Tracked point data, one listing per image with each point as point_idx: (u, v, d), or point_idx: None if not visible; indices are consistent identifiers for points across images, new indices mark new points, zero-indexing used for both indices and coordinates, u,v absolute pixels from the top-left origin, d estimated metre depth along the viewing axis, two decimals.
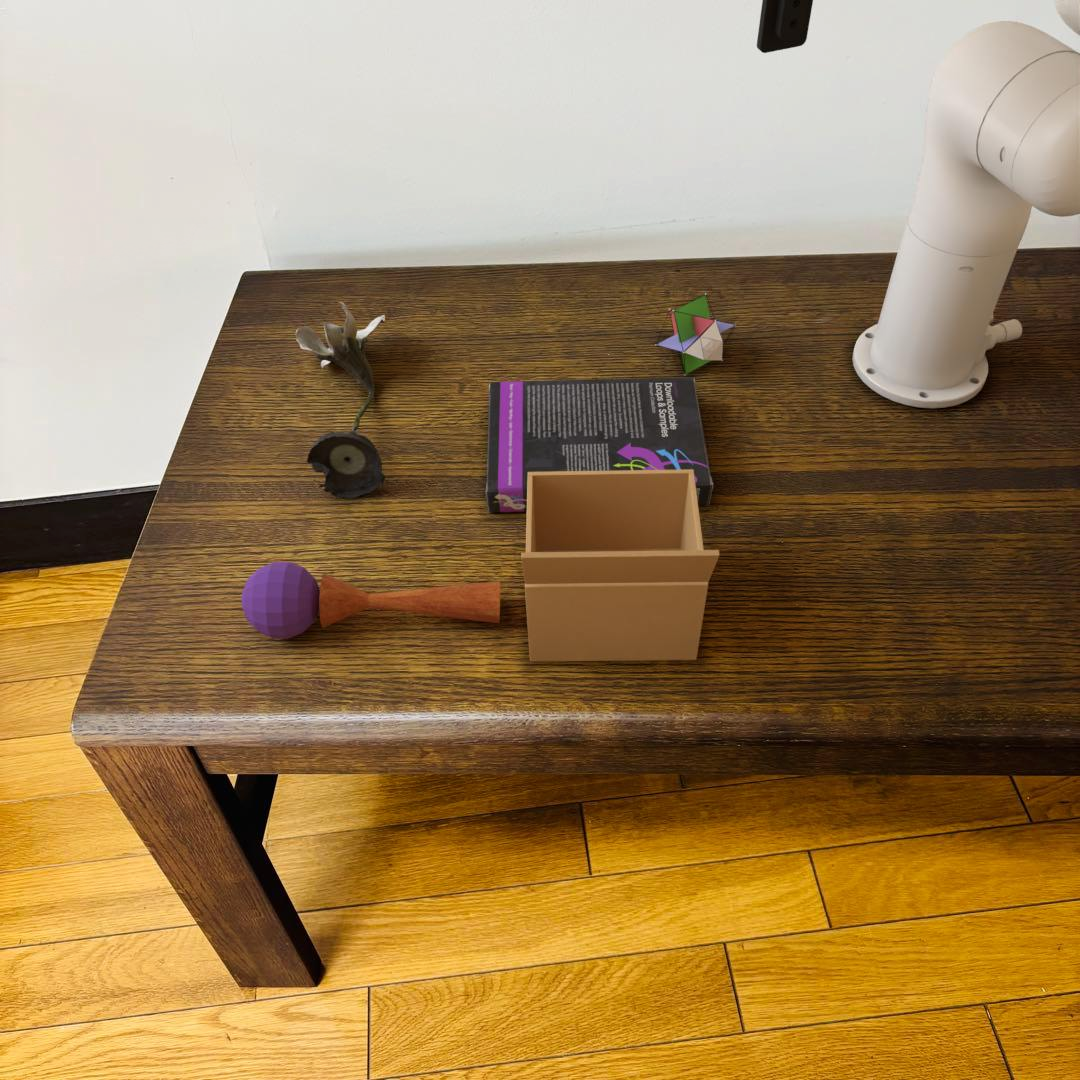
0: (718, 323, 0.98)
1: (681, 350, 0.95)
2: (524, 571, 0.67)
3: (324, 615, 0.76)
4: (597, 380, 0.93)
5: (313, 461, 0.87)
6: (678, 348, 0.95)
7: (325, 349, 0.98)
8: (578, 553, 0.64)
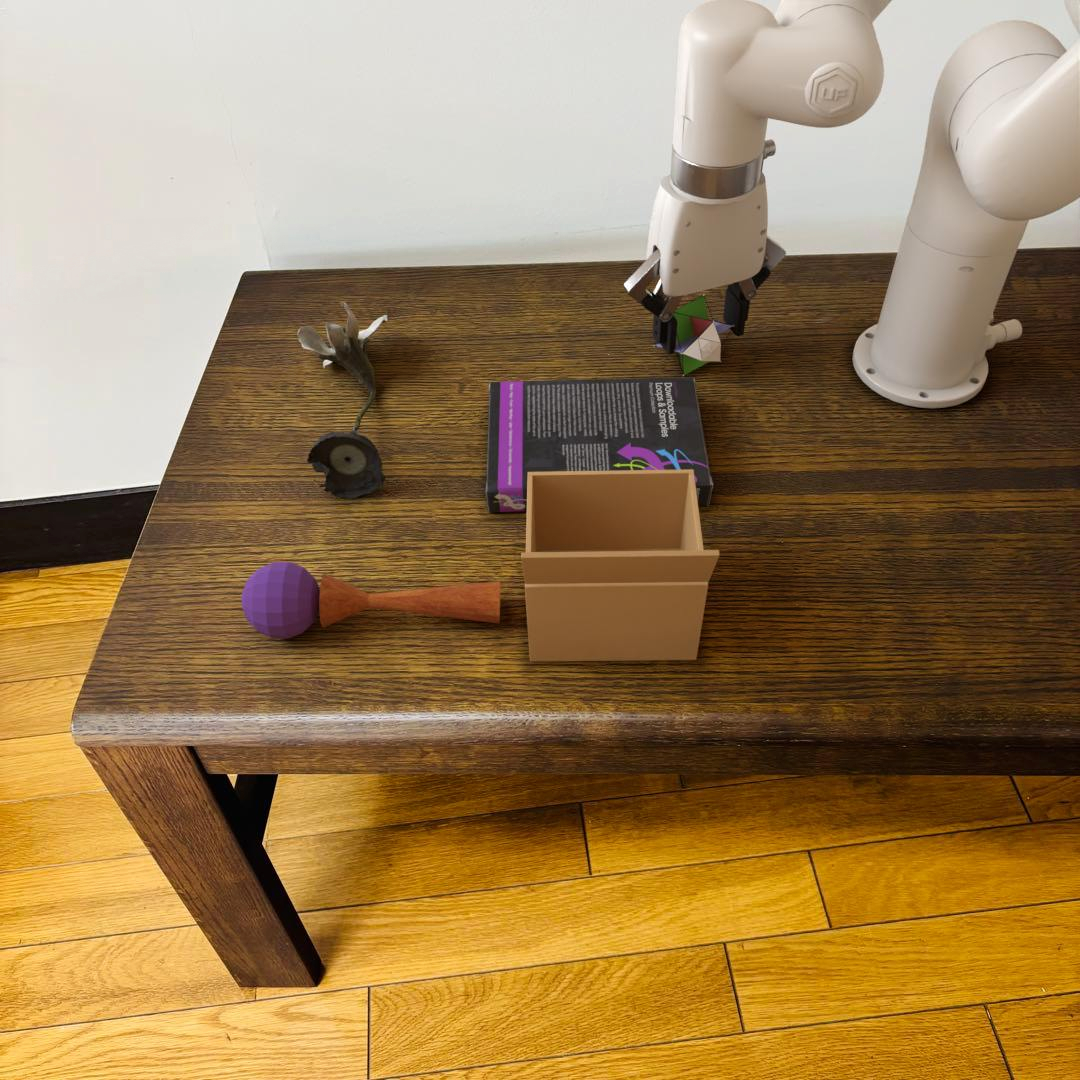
0: (716, 324, 0.98)
1: (679, 351, 0.95)
2: (524, 571, 0.67)
3: (325, 615, 0.76)
4: (597, 380, 0.93)
5: (313, 461, 0.87)
6: (676, 349, 0.95)
7: (327, 349, 0.98)
8: (578, 553, 0.64)
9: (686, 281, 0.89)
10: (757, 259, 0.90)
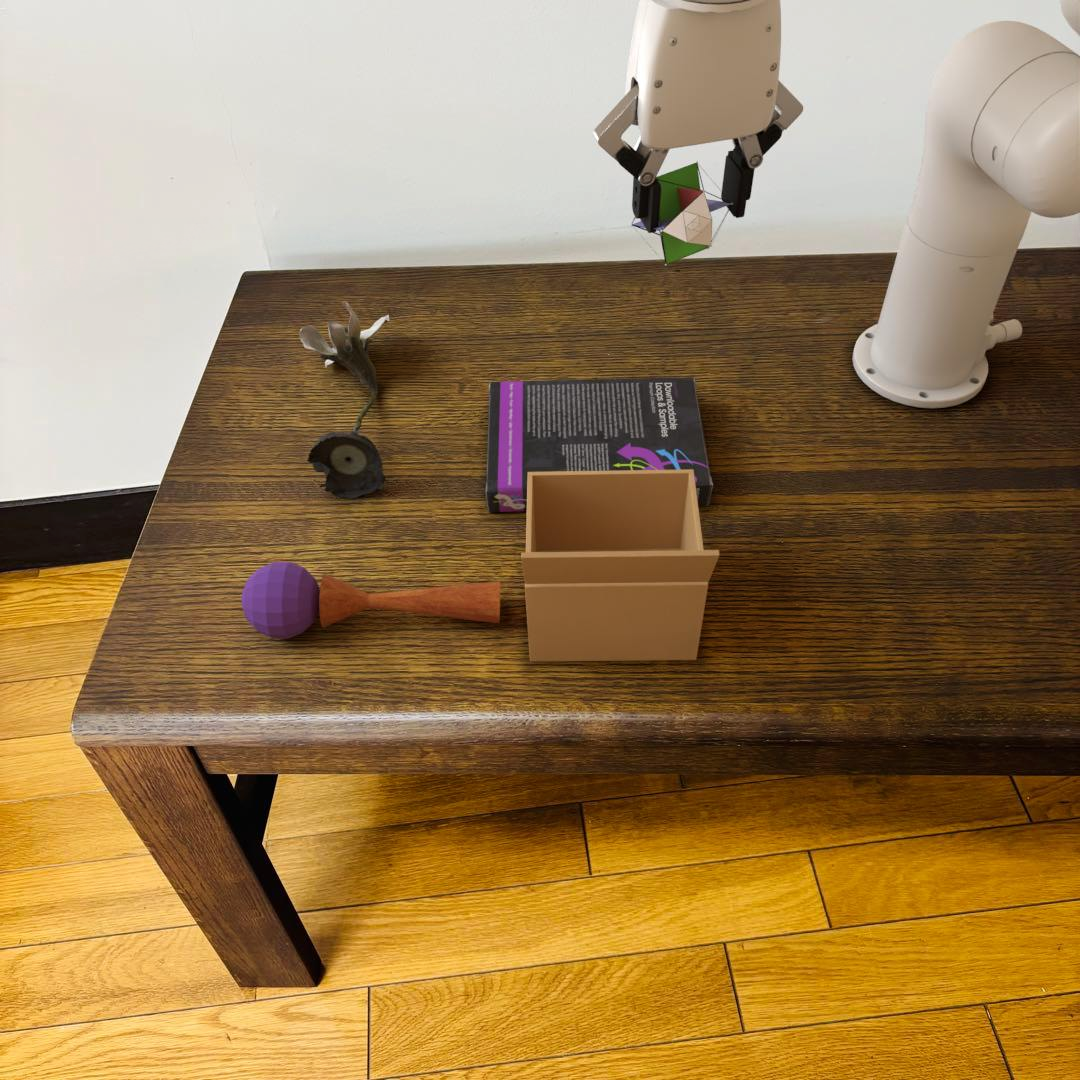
0: (712, 203, 0.78)
1: (659, 229, 0.75)
2: (524, 571, 0.67)
3: (325, 615, 0.76)
4: (597, 380, 0.93)
5: (314, 461, 0.87)
6: (657, 227, 0.76)
7: (328, 348, 0.98)
8: (578, 553, 0.64)
9: (671, 127, 0.69)
10: (765, 107, 0.70)
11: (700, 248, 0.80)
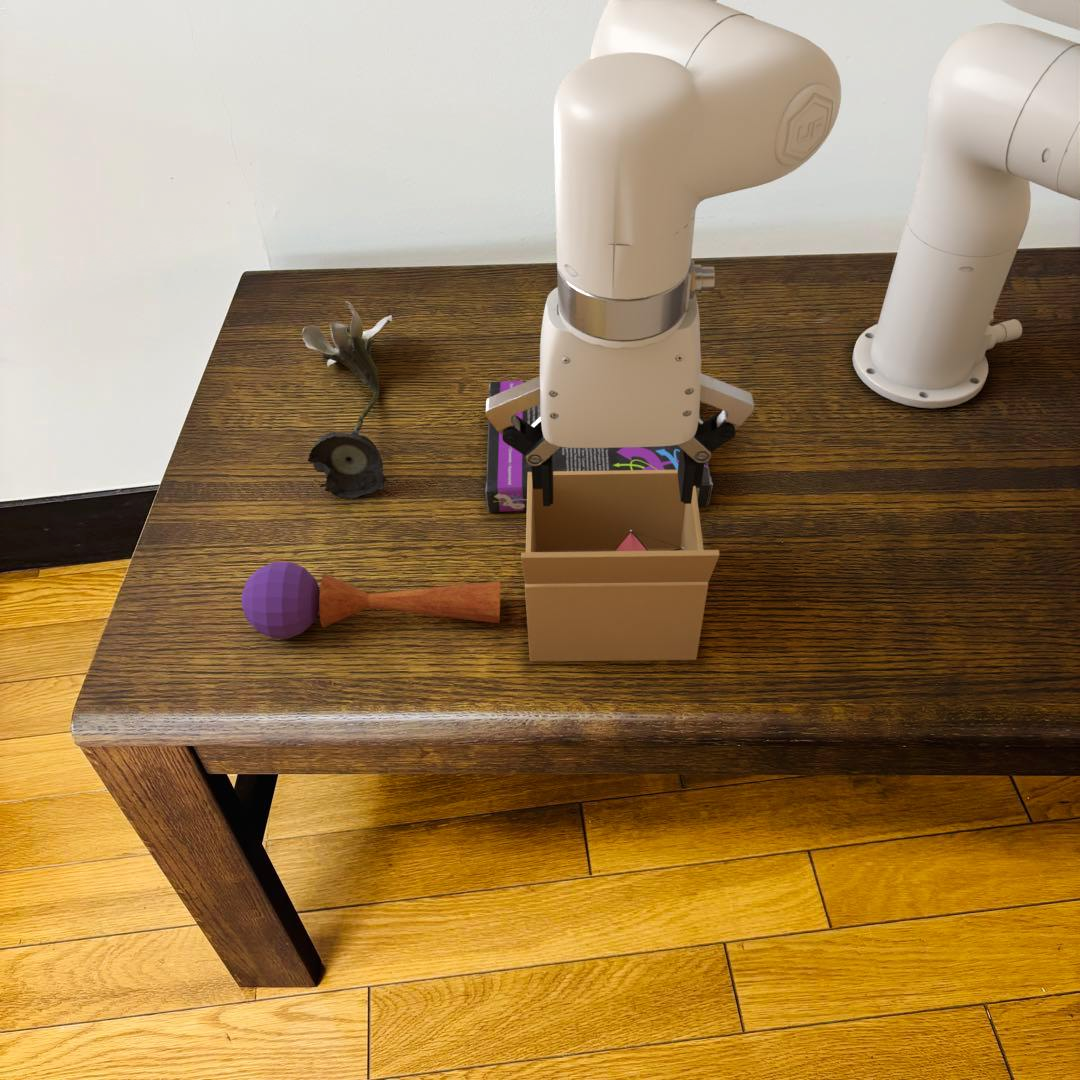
0: None
1: None
2: (524, 571, 0.67)
3: (325, 615, 0.76)
4: None
5: (314, 460, 0.87)
6: None
7: (331, 348, 0.98)
8: (578, 553, 0.64)
9: (572, 432, 0.63)
10: (683, 424, 0.63)
11: None
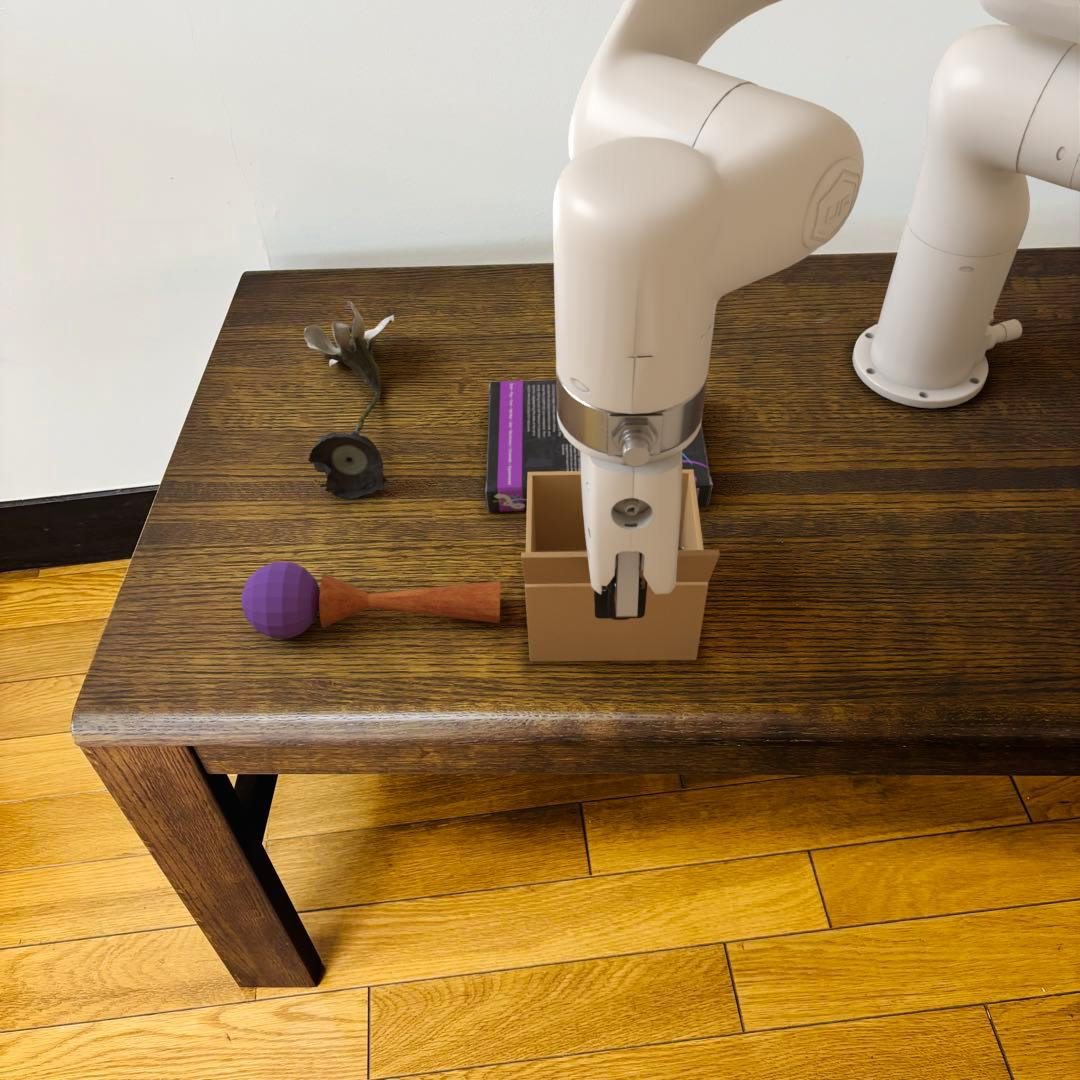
0: None
1: None
2: (524, 571, 0.67)
3: (324, 615, 0.76)
4: None
5: (315, 461, 0.87)
6: None
7: (333, 348, 0.98)
8: (578, 553, 0.64)
9: None
10: (589, 564, 0.55)
11: None
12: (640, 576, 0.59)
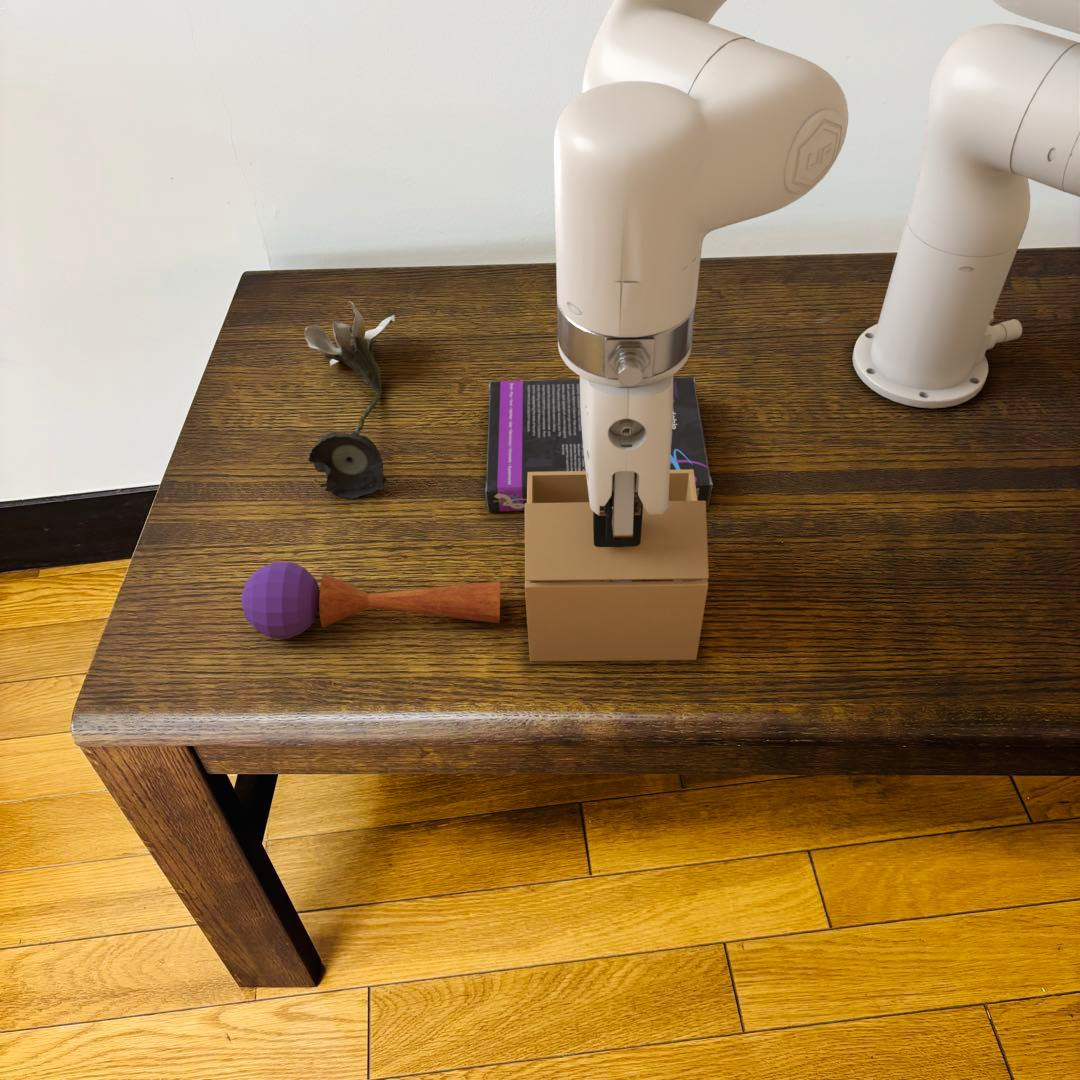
0: None
1: None
2: (526, 541, 0.70)
3: (325, 615, 0.76)
4: None
5: (315, 460, 0.87)
6: None
7: (333, 348, 0.98)
8: (577, 503, 0.70)
9: None
10: (588, 486, 0.59)
11: None
12: (635, 502, 0.63)
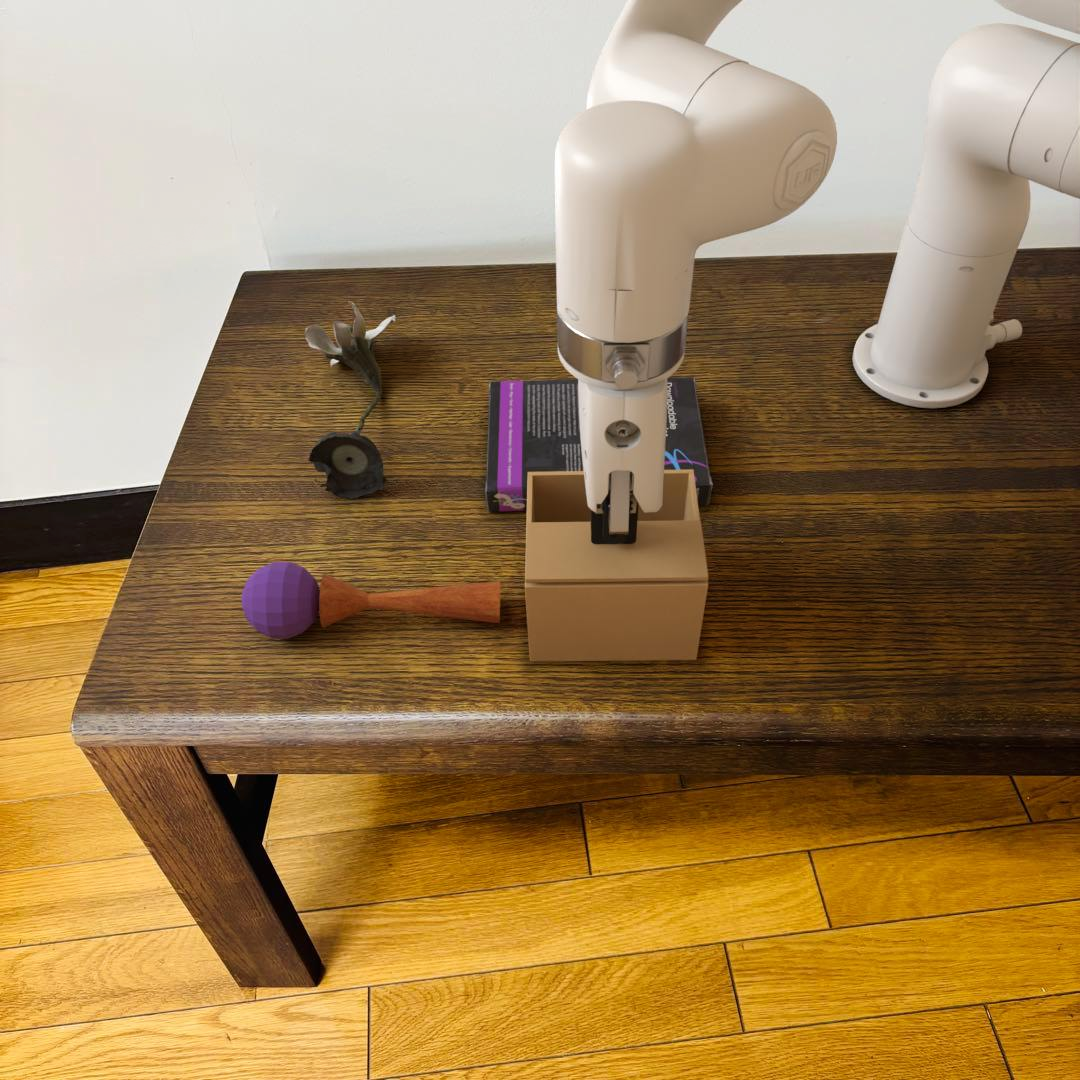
0: None
1: None
2: (527, 549, 0.71)
3: (325, 615, 0.76)
4: None
5: (315, 460, 0.87)
6: None
7: (334, 348, 0.98)
8: None
9: None
10: (585, 485, 0.62)
11: None
12: (631, 500, 0.66)
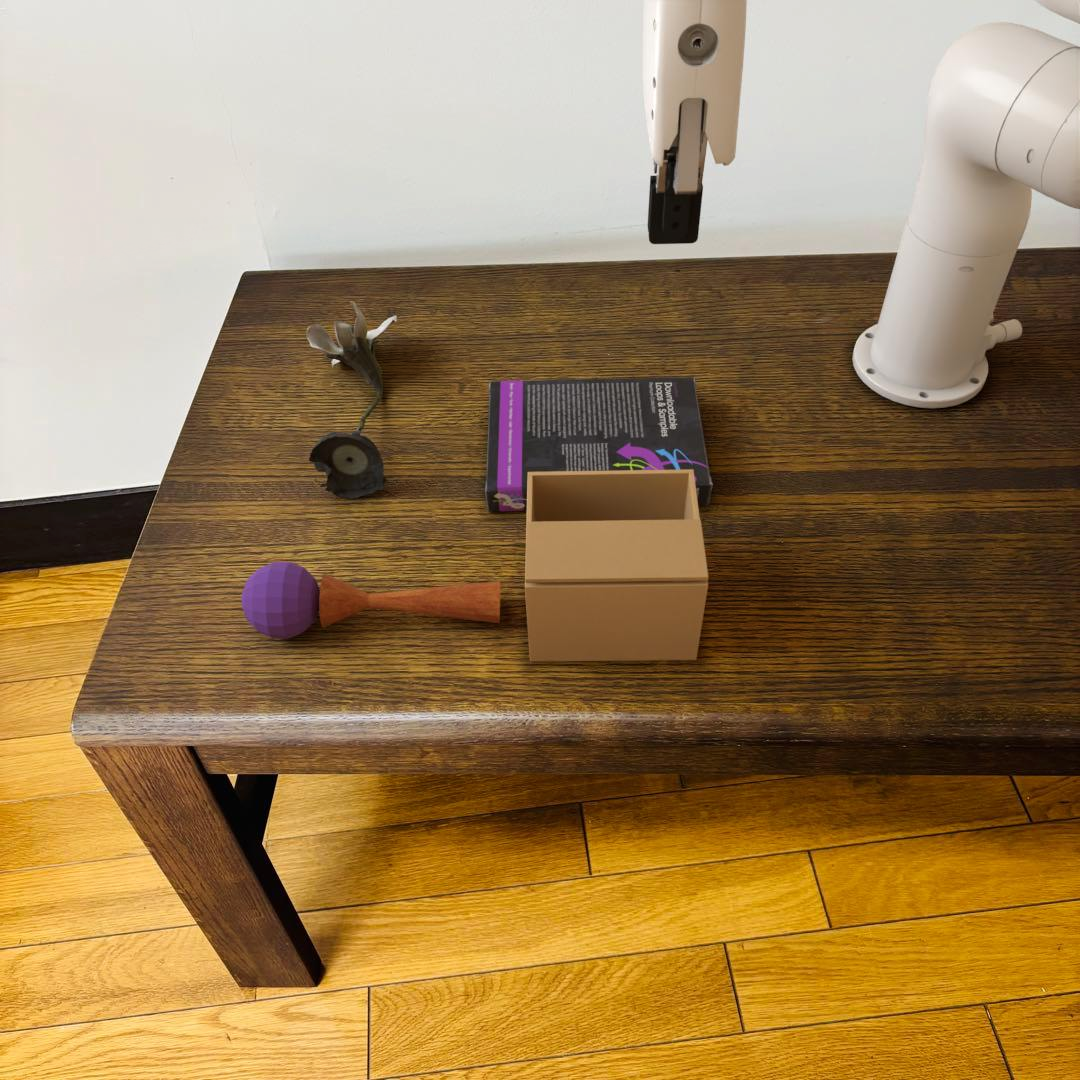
0: None
1: None
2: (527, 549, 0.71)
3: (325, 615, 0.76)
4: (597, 380, 0.93)
5: (315, 460, 0.87)
6: None
7: (335, 348, 0.98)
8: None
9: None
10: (651, 130, 0.56)
11: None
12: None
